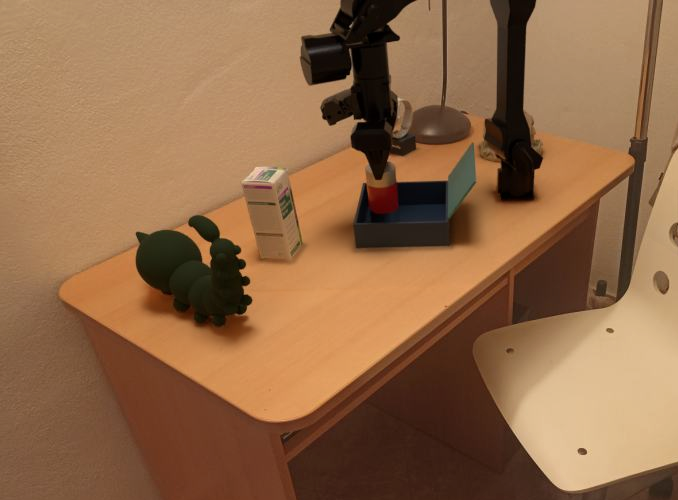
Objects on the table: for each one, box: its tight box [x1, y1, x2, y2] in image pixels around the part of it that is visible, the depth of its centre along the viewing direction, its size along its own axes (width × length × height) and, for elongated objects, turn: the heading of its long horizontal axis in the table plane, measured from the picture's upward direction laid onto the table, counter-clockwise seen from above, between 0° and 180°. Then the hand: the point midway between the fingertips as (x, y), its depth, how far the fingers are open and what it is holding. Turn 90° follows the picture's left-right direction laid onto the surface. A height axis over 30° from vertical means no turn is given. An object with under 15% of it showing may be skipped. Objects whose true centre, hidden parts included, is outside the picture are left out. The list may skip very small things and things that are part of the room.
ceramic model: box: [478, 109, 544, 163], centre depth 144 cm, size 14×11×10 cm
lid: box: [447, 142, 477, 220], centre depth 117 cm, size 8×16×1 cm
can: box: [364, 161, 400, 223], centre depth 119 cm, size 5×5×11 cm
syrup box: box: [240, 166, 304, 261], centre depth 112 cm, size 6×6×14 cm
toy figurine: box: [135, 214, 253, 328], centre depth 99 cm, size 9×19×25 cm
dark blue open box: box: [352, 180, 450, 249], centre depth 121 cm, size 16×16×5 cm
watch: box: [390, 97, 417, 156], centre depth 146 cm, size 6×8×11 cm
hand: (380, 167), depth 116 cm, fingers open, 9 cm apart
